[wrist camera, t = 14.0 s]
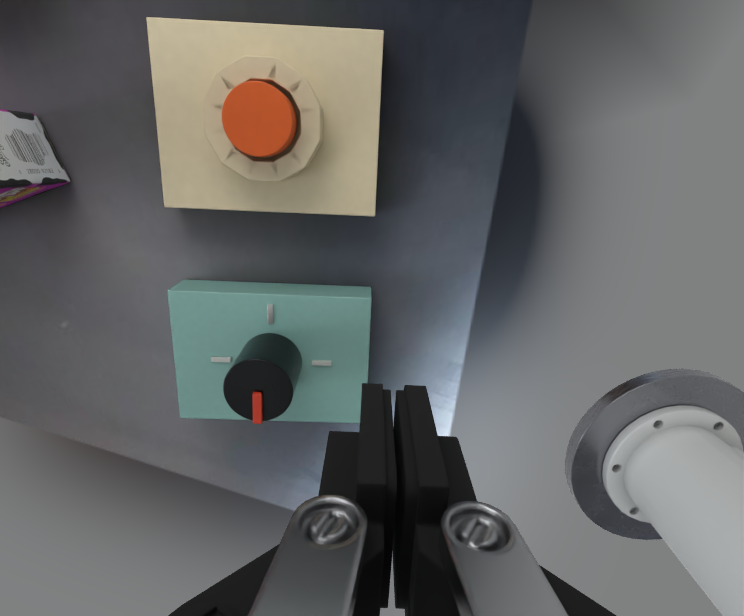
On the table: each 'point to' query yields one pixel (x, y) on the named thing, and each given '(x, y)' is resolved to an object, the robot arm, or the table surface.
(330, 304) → the dial panel
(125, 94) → the table surface
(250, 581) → the robot arm
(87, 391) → the table surface
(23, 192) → the candy bar box
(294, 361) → the knob
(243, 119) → the power button
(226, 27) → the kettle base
